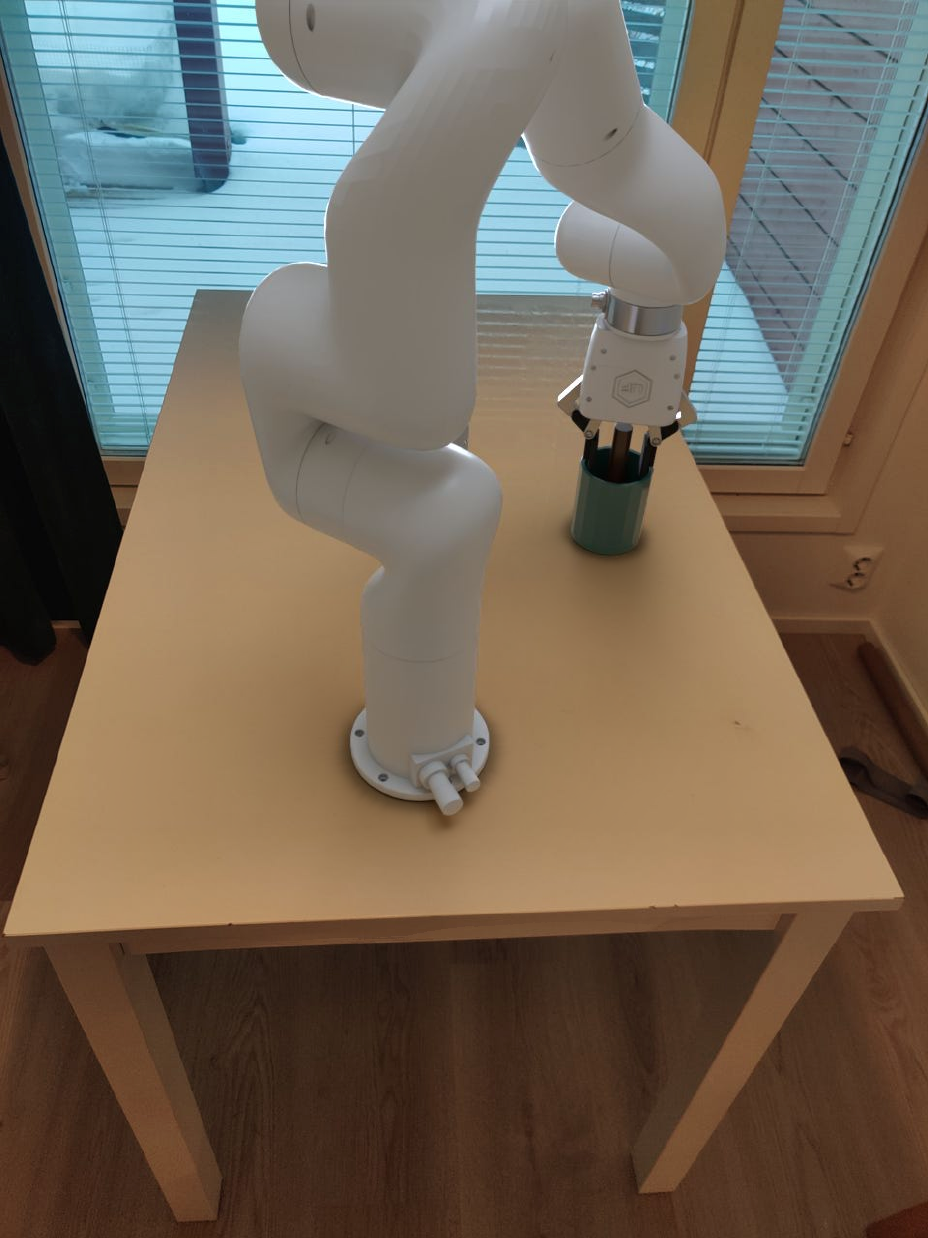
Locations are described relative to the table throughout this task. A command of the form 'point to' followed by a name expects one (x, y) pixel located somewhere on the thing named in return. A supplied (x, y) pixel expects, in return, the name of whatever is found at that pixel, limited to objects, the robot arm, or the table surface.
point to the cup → (610, 505)
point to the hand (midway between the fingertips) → (616, 466)
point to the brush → (619, 453)
